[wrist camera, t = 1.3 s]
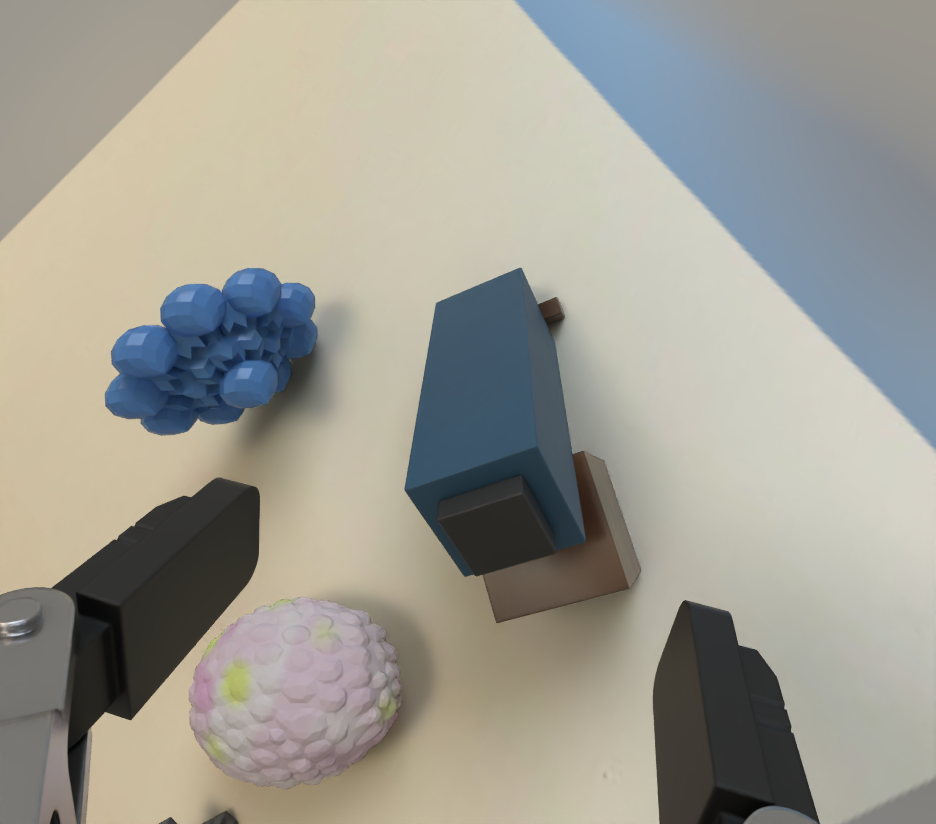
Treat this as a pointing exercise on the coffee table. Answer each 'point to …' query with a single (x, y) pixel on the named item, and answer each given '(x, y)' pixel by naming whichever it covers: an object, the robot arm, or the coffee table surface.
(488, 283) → the steel blue prism
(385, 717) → the decorative item
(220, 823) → the building blocks
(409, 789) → the coffee table surface
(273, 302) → the grapes
